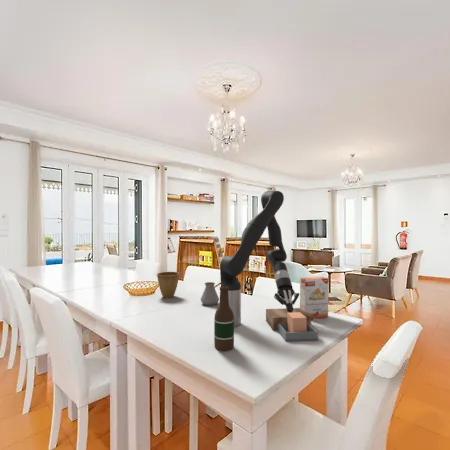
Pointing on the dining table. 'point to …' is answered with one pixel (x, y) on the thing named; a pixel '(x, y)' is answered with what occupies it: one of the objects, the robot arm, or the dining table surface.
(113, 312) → the dining table surface
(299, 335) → the box
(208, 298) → the coffee pot
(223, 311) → the beer bottle
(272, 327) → the walnut platform
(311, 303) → the cracker box
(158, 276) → the plant pot
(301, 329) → the terracotta block
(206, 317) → the dining table surface
